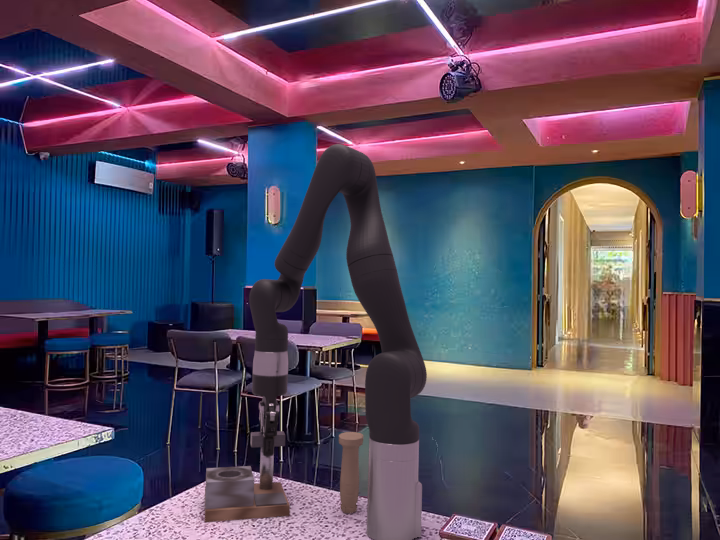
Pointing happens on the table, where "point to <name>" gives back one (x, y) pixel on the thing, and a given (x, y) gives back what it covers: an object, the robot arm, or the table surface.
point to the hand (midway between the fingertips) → (267, 452)
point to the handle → (350, 470)
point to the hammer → (266, 458)
